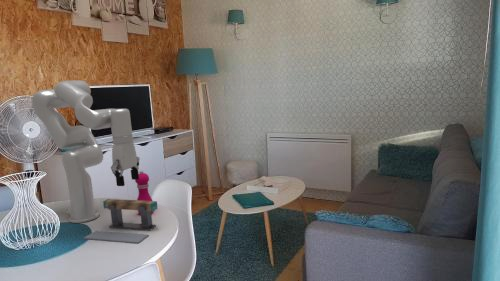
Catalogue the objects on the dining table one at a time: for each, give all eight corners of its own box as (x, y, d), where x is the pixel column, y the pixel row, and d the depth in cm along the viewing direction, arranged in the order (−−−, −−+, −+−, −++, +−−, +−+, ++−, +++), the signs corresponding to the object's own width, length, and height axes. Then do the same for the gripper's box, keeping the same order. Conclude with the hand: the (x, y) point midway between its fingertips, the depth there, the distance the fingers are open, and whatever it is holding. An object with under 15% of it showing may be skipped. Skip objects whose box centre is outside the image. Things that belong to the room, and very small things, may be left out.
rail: (103, 208, 157) (103, 201, 157) (108, 205, 160) (107, 199, 159) (153, 211, 150) (152, 203, 150) (157, 208, 153) (156, 201, 152)
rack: (108, 228, 157) (105, 204, 155) (116, 223, 162) (114, 200, 160) (149, 231, 151) (146, 206, 149) (156, 226, 156) (153, 202, 154)
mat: (84, 239, 147) (83, 237, 147) (96, 232, 153) (96, 230, 153) (138, 243, 139) (138, 242, 139) (148, 236, 146) (148, 234, 146)
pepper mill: (156, 210, 176) (151, 167, 173) (150, 215, 169) (146, 171, 165) (141, 210, 176) (136, 168, 173) (134, 216, 169) (130, 172, 166)
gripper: (128, 137, 160) (133, 177, 162) (100, 144, 144) (106, 188, 146) (143, 136, 158) (148, 177, 160) (117, 143, 141) (123, 188, 144)
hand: (128, 182), depth 153 cm, fingers open, 9 cm apart
